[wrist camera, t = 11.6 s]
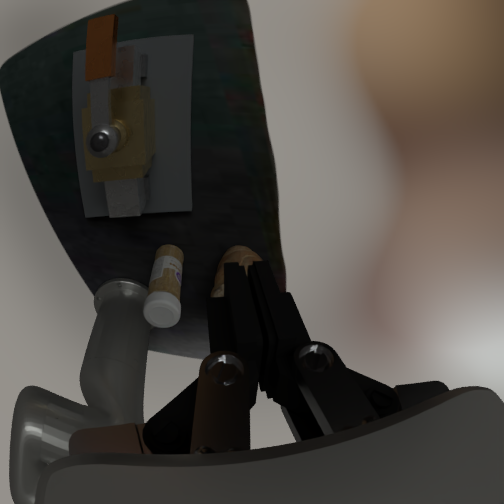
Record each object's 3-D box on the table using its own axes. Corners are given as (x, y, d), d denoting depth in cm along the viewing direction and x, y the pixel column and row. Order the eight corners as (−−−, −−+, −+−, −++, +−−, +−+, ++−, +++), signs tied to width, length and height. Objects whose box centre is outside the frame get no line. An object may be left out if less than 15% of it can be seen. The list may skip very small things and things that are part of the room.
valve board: (192, 206, 39) (191, 210, 38) (88, 213, 37) (85, 217, 35) (193, 37, 27) (193, 34, 26) (77, 53, 24) (73, 52, 23)
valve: (158, 198, 36) (147, 229, 28) (110, 202, 35) (88, 233, 27) (156, 50, 26) (140, 36, 18) (103, 58, 25) (73, 49, 17)
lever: (121, 152, 24) (116, 157, 22) (92, 156, 23) (85, 161, 22) (121, 16, 16) (116, 11, 15) (90, 24, 16) (83, 20, 14)
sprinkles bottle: (189, 258, 44) (188, 319, 32) (167, 272, 44) (160, 334, 33) (171, 237, 41) (162, 295, 30) (149, 253, 42) (134, 312, 30)
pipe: (219, 317, 51) (225, 360, 43) (202, 241, 43) (204, 281, 34) (267, 309, 52) (280, 349, 44) (261, 232, 43) (277, 269, 35)
